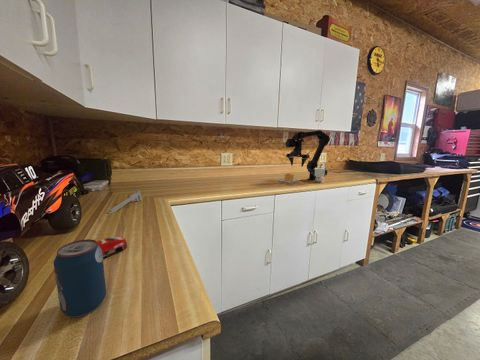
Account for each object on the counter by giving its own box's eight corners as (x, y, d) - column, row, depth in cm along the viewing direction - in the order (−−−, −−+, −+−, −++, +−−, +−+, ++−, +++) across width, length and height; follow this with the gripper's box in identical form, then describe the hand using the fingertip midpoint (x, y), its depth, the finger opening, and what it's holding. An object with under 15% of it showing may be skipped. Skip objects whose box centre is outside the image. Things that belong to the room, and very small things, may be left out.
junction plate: (286, 179, 177) (286, 174, 176) (300, 181, 168) (300, 176, 167) (277, 181, 168) (277, 175, 167) (291, 183, 159) (291, 178, 158)
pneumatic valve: (326, 182, 169) (327, 167, 166) (311, 181, 171) (312, 167, 169) (325, 181, 174) (326, 167, 172) (310, 180, 176) (311, 166, 174)
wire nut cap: (287, 179, 172) (288, 172, 170) (293, 180, 168) (293, 173, 167) (284, 180, 168) (284, 173, 167) (289, 181, 165) (290, 174, 164)
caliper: (139, 200, 106) (138, 188, 105) (141, 200, 106) (140, 188, 105) (107, 214, 86) (106, 199, 85) (109, 214, 86) (108, 199, 85)
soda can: (114, 292, 43) (109, 238, 40) (91, 321, 36) (83, 257, 34) (80, 291, 43) (73, 237, 40) (50, 320, 36) (40, 256, 33)
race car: (75, 273, 49) (73, 257, 48) (66, 265, 52) (64, 250, 51) (130, 249, 60) (129, 236, 59) (120, 243, 63) (119, 231, 62)
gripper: (282, 147, 171) (281, 165, 174) (303, 147, 158) (302, 168, 161) (290, 146, 179) (289, 164, 182) (310, 147, 166) (309, 166, 169)
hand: (296, 166), depth 173 cm, fingers open, 9 cm apart
